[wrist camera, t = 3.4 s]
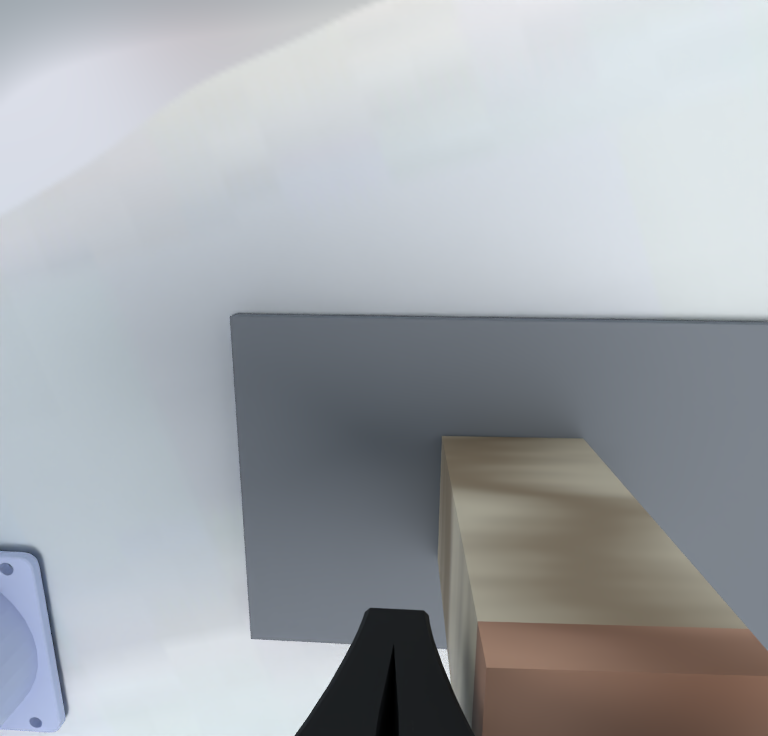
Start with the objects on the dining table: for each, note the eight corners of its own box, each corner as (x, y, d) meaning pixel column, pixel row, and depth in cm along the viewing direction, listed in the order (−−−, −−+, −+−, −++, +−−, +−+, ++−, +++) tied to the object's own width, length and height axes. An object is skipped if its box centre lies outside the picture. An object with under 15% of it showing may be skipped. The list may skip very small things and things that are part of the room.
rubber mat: (255, 627, 21) (251, 638, 20) (236, 313, 18) (230, 316, 17) (863, 657, 19) (876, 670, 19) (953, 324, 16) (973, 328, 16)
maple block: (437, 559, 18) (472, 885, 9) (441, 436, 17) (486, 667, 8) (570, 562, 18) (738, 896, 9) (583, 438, 17) (790, 677, 8)
